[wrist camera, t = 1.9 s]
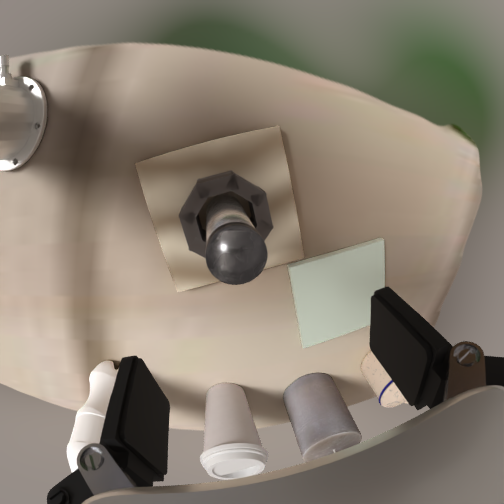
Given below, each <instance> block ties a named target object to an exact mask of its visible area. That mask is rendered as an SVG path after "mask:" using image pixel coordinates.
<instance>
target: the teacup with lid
mask: <svg viewBox="0 0 504 504" xmlns="http://www.w3.org/2000/svg"><path fill="white" fill-rule="evenodd" d="M361 371H362V373H363V375H364V377H365V378H366V380H367V381H368V383H369V384H370V386H371V388H372V389H373V391H374V392H375V394H376V396H377V397H378V399H379V403H380V404H381V405H382V406H384V407H389V408H390V407H395V406H398V405H400V404H402V403H404V402H405V403H406V404H409V403H408V402H407V400H406V399H405V398H404V396H403V395H402V393H401V392H400V390H399V389H398V388H397V386H396V385H395V383H394V382H393V381H392V379H391V378H390V376H389V375H388V373H387V372H386V371H385V369H384V368H383V367H382V365H381V364H380V362H379V361H378V360H377V358H376V357H375V355H374V354H373V353H372V351H370V352H369V353H368V354H367V355H366V357H365V358H364V360H363V362H362V365H361Z"/></svg>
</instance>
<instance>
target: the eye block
mask: <svg viewBox="0 0 504 504" xmlns="http://www.w3.org/2000/svg"><path fill="white" fill-rule="evenodd" d="M135 166H136V170H137V173H138V177H139V180H140V183H141V187H142V190H143V193H144V197H145V200H146V203H147V206H148V210H149V213H150V216H151V219H152V222H153V225H154V228H155V231H156V234H157V237H158V240H159V243H160V246H161V248H162V251H163V254H164V257H165V260H166V262H167V265H168V268H169V271H170V273H171V276H172V279H173V281H174V284H175V286H176V289H177V292H181V291H185V290H189V289H193V288H197V287H200V286H204V285H208V284H212V283H215V282H219V281H220V280H218V279H217V278H215V277H214V276H213V275H212V274H211V272H210V271H209V269H208V267H207V264H206V257H205V249H206V243H207V238H206V209H207V206H208V204H209V202H210V201H211V200H212V199H213V198H214V197H216V196H218V195H223V194H227V195H231V196H233V197H235V198H236V199H237V200H238V201H239V202H240V204H241V206H242V207H243V209H244V211H245V212H246V214H247V216H248V217H249V219H250V221H251V223H252V224H253V226H254V228H255V229H256V230H257V231H258V232H259V234H260V235H261V237H262V238H263V240H264V242H265V244H266V247H267V252H268V257H267V262H266V265H265V267H264V269H267V268H271V267H274V266H278V265H282V264H285V263H289V262H292V261H296V260H299V259H303V258H304V252H303V246H302V239H301V234H300V228H299V222H298V216H297V211H296V205H295V200H294V195H293V189H292V184H291V179H290V174H289V169H288V164H287V159H286V154H285V150H284V145H283V140H282V136H281V131H280V127H279V126H274V127H269V128H264V129H259V130H254V131H249V132H244V133H240V134H236V135H231V136H227V137H223V138H219V139H215V140H211V141H207V142H203V143H200V144H196V145H192V146H189V147H185V148H182V149H178V150H175V151H172V152H168V153H165V154H162V155H159V156H156V157H153V158H150V159H147V160H144V161H141V162H138V163H135ZM264 269H263V270H264Z"/></svg>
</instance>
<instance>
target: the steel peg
mask: <svg viewBox="0 0 504 504" xmlns="http://www.w3.org/2000/svg"><path fill="white" fill-rule="evenodd" d="M206 238H207V243H206V249H205V257H206V264H207V267H208V269H209V271H210V272H211V274H212V275H213V276H214V277H215V278H217V279H218V280H220V281H221V282H224V283H227V284H232V285H238V284H244V283H247V282H249V281H251V280H253V279H255V278H256V277H257V276H258V275H259V274H260V273H261V272H262V271H263V269H264V267H265V265H266V262H267V257H268V252H267V247H266V244H265V242H264V240H263V238H262V237H261V235H260V234H259V232H258V231H257V230H256V229H255V228H254V226H253V224H252V223H251V221H250V219H249V217H248V216H247V214H246V212H245V211H244V209H243V207H242V206H241V204H240V202H239V201H238V200H237V199H236V198H235V197H233V196H231V195H227V194H223V195H218V196H216V197H214V198H213V199H212V200H211V201H210V202H209V204H208V206H207V209H206Z"/></svg>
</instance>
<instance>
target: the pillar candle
mask: <svg viewBox="0 0 504 504" xmlns="http://www.w3.org/2000/svg"><path fill="white" fill-rule="evenodd" d="M283 400H284V403H285V407H286V410H287V413H288V416H289V419H290V422H291V424H292V427H293V430H294V433H295V436H296V439H297V442H298V445H299V448H300V451H301V454H302V457H303V460H304V461H305V462H309V461H312V460H315V459H318V458H321V457H324V456H327V455H330V454H333V453H336V452H339V451H341V450H344V449H347V448H349V447H352V446H354V445H357V444H359V443H360V441H361V439H362V436H361V433H360V431H359V429H358V427H357V425H356V424H355V422H354V420H353V418H352V416H351V414H350V412H349V410H348V408H347V406H346V404H345V402H344V400H343V398H342V397H341V395H340V393H339V391H338V389H337V387H336V385H335V383H334V381H333V379H332V378H331V377H330V376H329V375H327V374H324V373H312V374H308V375H305V376H302V377H300V378H298V379H297V380H296V381H294V382H293V383H292V384H291V385H290V386H289V387H288V388H287V389H286V390H285V392H284V394H283Z"/></svg>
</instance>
